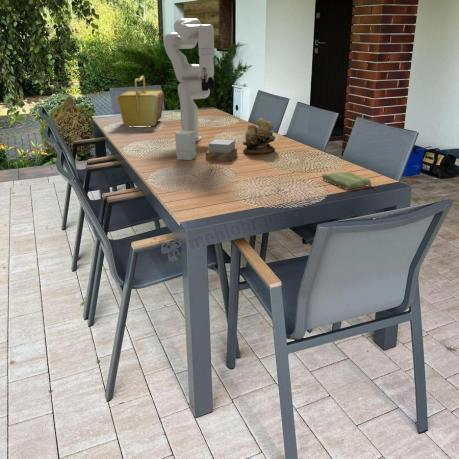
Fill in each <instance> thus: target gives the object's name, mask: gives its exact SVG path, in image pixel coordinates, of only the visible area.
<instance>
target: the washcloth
mask: <svg viewBox="0 0 459 459" xmlns="http://www.w3.org/2000/svg"><path fill="white" fill-rule="evenodd" d="M321 178H322V179H323V180H326V181H328V182H331V183H333V184H336V185H338V186H340V187H339V188H341V187H343V188H342V189H344V188H346V189H349V190H352V189H351V188H355V189H358V188H357V187H359V188H361V187H360V186H366V185H370V186H372V181H371V179H370V178H368V177H363V176H361V175H358V174H354V173H352V172H349V171H342V172H341V171H338V172H331V173H323V174H322V175H321ZM323 180H322V181H323ZM326 181H325V182H326ZM328 182H327V183H328ZM331 183H330V184H331ZM333 184H332V185H333ZM336 185H335V186H336ZM338 186H337V187H338ZM346 189H345V190H346Z"/></svg>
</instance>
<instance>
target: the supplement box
mask: <svg viewBox="0 0 459 459" xmlns="http://www.w3.org/2000/svg"><path fill="white" fill-rule="evenodd" d="M177 132H178V133H176V132H175V133H176V134H175V147H176V148H175V149H176V160H179V161H180V160H183V161H192V160H194V159H195V158H196V157H197V150H196V141H195V131H182V130H180V131H177Z"/></svg>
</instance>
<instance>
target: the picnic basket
mask: <svg viewBox="0 0 459 459" xmlns="http://www.w3.org/2000/svg"><path fill="white" fill-rule="evenodd" d="M137 82H138V83H139V82H142V83H143V84H142V85H143V88H142V89H138V84H137ZM164 96H165V93H164V91H163V90H161V89H146V79H145V76H144V75H141V76H140V77H139V78H138V77H137V78H135V79H134V89H129V90H127V91H125V92H123V93H121V94H120V95H118V96H117V97H116V102H117V104H118V109H119V112H120V116H121V119H122V123H123V125H124V126H125V127H127V126H153V127H154V126H155V125H157V122H158V121H159V120H161V118H162V114H163V105H164Z"/></svg>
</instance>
